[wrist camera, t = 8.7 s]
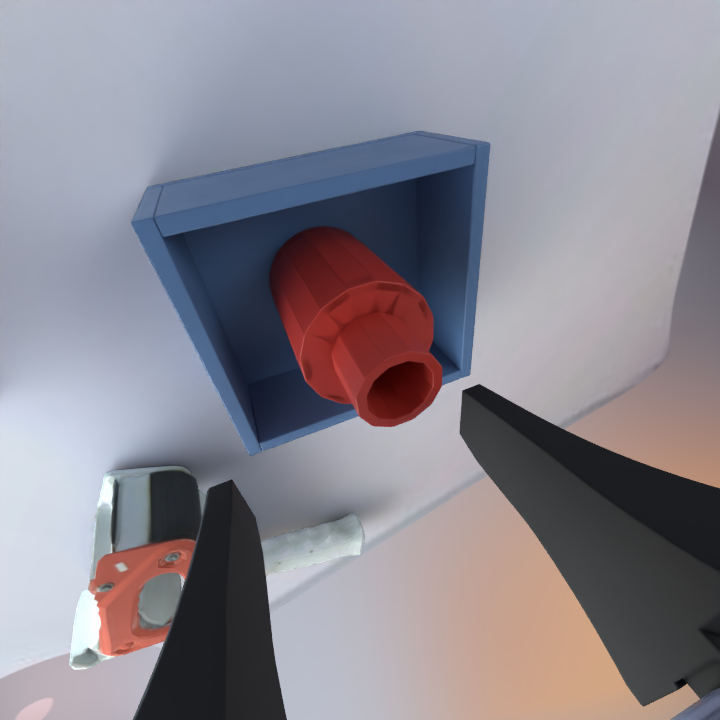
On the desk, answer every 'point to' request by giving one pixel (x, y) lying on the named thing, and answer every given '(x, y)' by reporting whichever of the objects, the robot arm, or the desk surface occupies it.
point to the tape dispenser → (166, 558)
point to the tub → (292, 215)
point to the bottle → (355, 326)
